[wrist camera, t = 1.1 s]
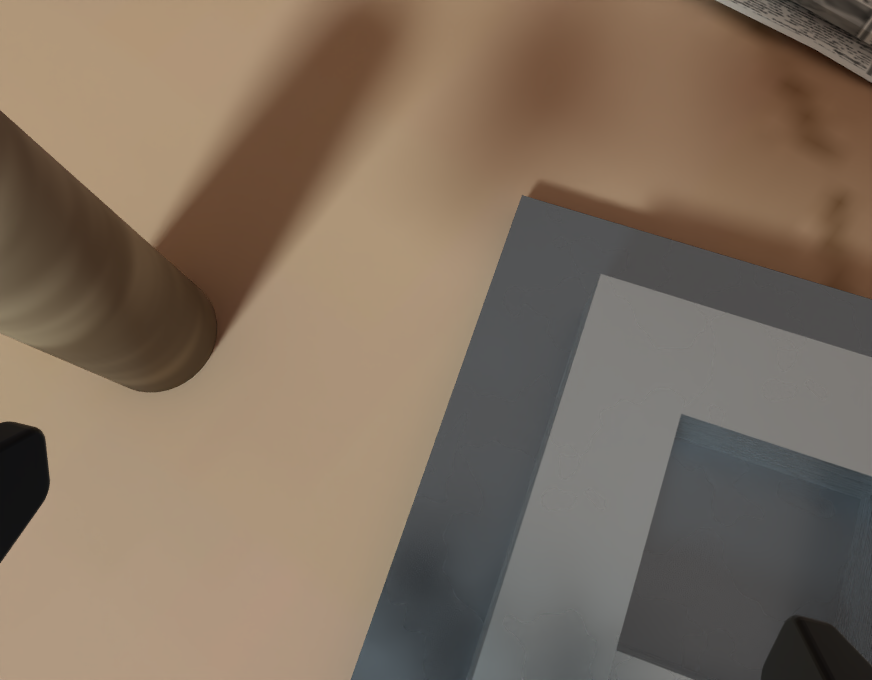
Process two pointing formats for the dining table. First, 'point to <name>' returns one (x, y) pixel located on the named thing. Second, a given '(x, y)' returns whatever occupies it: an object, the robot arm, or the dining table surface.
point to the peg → (91, 279)
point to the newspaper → (820, 26)
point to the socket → (636, 469)
